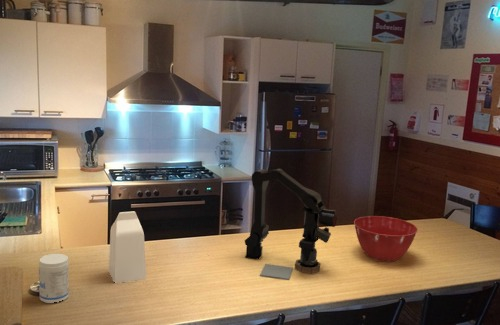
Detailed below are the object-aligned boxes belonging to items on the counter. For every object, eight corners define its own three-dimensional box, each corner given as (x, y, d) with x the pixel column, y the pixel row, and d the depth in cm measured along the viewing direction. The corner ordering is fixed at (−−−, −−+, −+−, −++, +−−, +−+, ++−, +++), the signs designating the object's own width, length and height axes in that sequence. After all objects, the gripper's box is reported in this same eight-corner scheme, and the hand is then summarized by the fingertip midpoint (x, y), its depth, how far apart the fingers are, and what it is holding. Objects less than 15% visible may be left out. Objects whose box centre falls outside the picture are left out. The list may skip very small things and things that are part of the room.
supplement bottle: (314, 272, 200) (316, 245, 198) (298, 270, 202) (300, 243, 199) (316, 266, 207) (318, 240, 204) (300, 264, 208) (302, 238, 206)
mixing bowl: (377, 271, 205) (380, 237, 202) (339, 248, 230) (341, 218, 228) (427, 264, 216) (431, 231, 214) (385, 243, 242) (388, 213, 239)
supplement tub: (34, 297, 167) (33, 257, 164) (60, 289, 174) (59, 251, 172) (48, 307, 161) (47, 266, 158) (74, 298, 168) (73, 258, 165)
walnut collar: (293, 271, 200) (294, 264, 200) (296, 262, 210) (297, 255, 210) (318, 275, 198) (319, 267, 197) (320, 265, 208) (321, 258, 207)
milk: (114, 284, 181) (114, 218, 176) (108, 272, 191) (108, 209, 186) (146, 279, 186) (146, 215, 182) (138, 268, 196) (139, 207, 192)
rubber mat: (259, 276, 194) (259, 274, 194) (265, 265, 206) (265, 263, 206) (288, 280, 192) (289, 278, 192) (292, 268, 203) (293, 267, 203)
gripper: (327, 231, 189) (324, 268, 192) (332, 218, 207) (329, 252, 210) (299, 227, 192) (297, 264, 195) (307, 215, 210) (304, 249, 213)
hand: (308, 257), depth 203 cm, fingers closed on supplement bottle, 7 cm apart
